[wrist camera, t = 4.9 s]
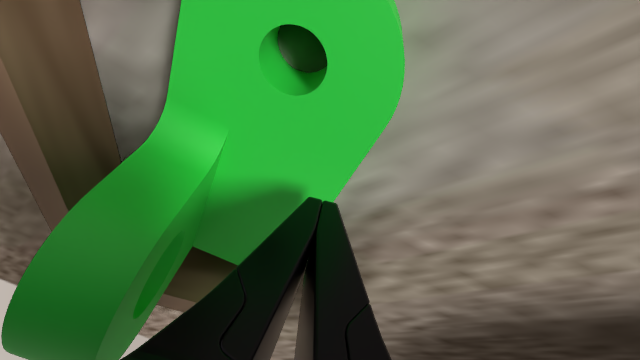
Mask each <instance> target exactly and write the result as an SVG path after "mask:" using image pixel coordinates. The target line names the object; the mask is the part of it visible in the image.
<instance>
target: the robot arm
mask: <svg viewBox="0 0 640 360" xmlns="http://www.w3.org/2000/svg"><path fill="white" fill-rule="evenodd" d="M308 256H309V257H308ZM307 260H308V261H307ZM306 264H307V265H306ZM305 267H306V269H305ZM304 271H305V275H304V282H303V290H302V298H301V307H300V315H299V323H298V332H297V340H296V349H295V357H294V360H391V357H390V355H389V353H388V350H387V348H386V346H385V343H384V341H383V339H382V336H381V333H380V331H379V328H378V325H377V322H376V320H375V317H374V314H373V311H372V308H371V305H370V304H369V299H368V296H367V293H366V290H365V287H364V284H363V281H362V278H361V275H360V272H359V269H358V266H357V263H356V260H355V257H354V253H353V250H352V247H351V244H350V241H349V238H348V235H347V232H346V229H345V226H344V223H343V220H342V217H341V214H340V211H339V208H338V205H337V204H336V203H333V202H329V201H323V202H322V200H321V199H318V198H314V197H308V198H307V199H306V200H305V201H304V202H303V203H302V204H301V205H300V206H299V207H298V208H297V209H296V210H294V211H293V212H292V213H291V214H290V215H289V216H288V217H287V218H286V219H285V220H284V221H283V222H282V223H281V224H280V225H279V226H278V227H277V228H276V229H275V230H274V231H273V232H272V233H271V234H270V235H269V236H268V237H267V238H266V239H265V240H264V241H263V242H262V243H261V244H260V245H259V246H258V247H257V248H256V249H254V250H253V251H252V252H251V253H250V254H249V255H248V256H247V257H246V258H245V259H244V260H243V261H242V262H241V263H240V264H239V265H238V266H237V267H236V269H234V270H233V271H232V272H231V273H230V274H229V275H228V276H227V277H226V278H225V279H224V280H222V281H221V282H220V283H219V284H218V285H217V286H216V287H215V288H214V289H213V290H211V291H210V292H209V293H208V294H207V295H206V296H204V297H203V298H202V299H201V300H199V301H198V302H197V303H196V304H195V305H193V306H192V307H191V308H190V309H188V310H187V311H186V312H184V313H183V314H182V315H180V316H179V317H178V318H177V319H175V320H174V321H173V322H171V323H170V324H169V325H168V326H166V327H165V328H164V329H162V330H161V331H160V332H158V333H157V334H156V335H155V336H153V337H152V338H151V339H149V340H148V341H147V342H145V343H144V344H143V345H141V346H140V347H139V348H138V349H136V350H135V351H133V352H132V353H130V354H129V355H127V356H126V357H124V358H122V359H120V360H270V358H271V356H272V353H273V351H274V348H275V346H276V343H277V341H278V338H279V336H280V333H281V330H282V328H283V325H284V323H285V320H286V318H287V315H288V313H289V310H290V308H291V305H292V302H293V300H294V297H295V295H296V292H297V290H298V287H299V285H300V282H301V280H302V277H303V274H304Z"/></svg>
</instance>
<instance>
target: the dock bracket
mask: <svg viewBox="0 0 640 360" xmlns="http://www.w3.org/2000/svg"><path fill="white" fill-rule="evenodd" d="M0 132H1V134H2V136H3V138H4V140H5V142H6V144H7V146H8V148H9V150H10V152H11V154H12V156H13V158H14V160H15V162H16V164H17V165H18V167H19V169H20V171H21V173H22V175H23V177H24V179H25V181H26V183H27V185H28V187H29V189H30V191H31V193H32V195H33V196H34V198H35V200H36V202H37V204H38V206H39V208H40V210H41V212H42V214H43V216H44V218H45V220H46V222H47V224H48V226H49V227H50V229H51V231H53V230H54V229H55V227H56V226H57V225H58V224H59V223H60V221H61V220H62V219H63V218H64V217H65V216H66V214H67V213H68V212H69V211H70V210H71V209H72V208H73V207H74V206H75V205H76V204H77V203H78V202H79V201H80V200H81V199H82V198H83V197H84V196H85V195H86V194H87V193H88V192H89V191H90V190H91V189H93V188H94V187H95V186H96V185H97V184H98V183H99V182H101V181H102V180H103V179H104V178H105V177H106V176H107V175H108V174H110V173H111V172H112V171H113V170H114V169H115V168H116V167H118V166H119V165H120V164H121V160H120V156H119V152H118V149H117V145H116V141H115V137H114V133H113V129H112V125H111V121H110V117H109V113H108V110H107V106H106V102H105V98H104V94H103V90H102V86H101V82H100V78H99V75H98V71H97V67H96V63H95V59H94V55H93V51H92V47H91V43H90V40H89V36H88V32H87V28H86V24H85V20H84V16H83V12H82V8H81V4H80V1H79V0H0ZM237 266H238V265H236V264H234V263H231V262H229V261H226V260H224V259H222V258H219V257H217V256H215V255H212V254H210V253H207V252H205V251H203V250H200V249H198V248H196V247H193V246H192V248H191V249H190V251H189V253H188V254H187V256H186V258H185V259H184V261H183V262H182V264H181V266H180V267H179V269H178V270H177V272H176V274H175V275H174V277H173V278H172V280H171V282H170V283H169V285H168V286H167V288H166V290H165V291H164V293H163V295H162V296H161V298H160V299H159V301H158V303H157V304H156V305H159V306H163V307H166V308H170V309H174V310H177V311H181V312H186V311H187V310H188V309H190V308H191V307H192V306H193V305H195V304H196V303H197V302H198V301H199V300H201V299H202V298H203V297H204V296H206V295H207V294H208V293H209V292H210V291H211V290H213V289H214V288H215V287H216V286H217V285H218V284H219V283H220V282H221V281H222V280H224V279H225V278H226V277H227V276H228V275H229V274H230V273H231V272H232V271H233V270H234V269H236V267H237Z"/></svg>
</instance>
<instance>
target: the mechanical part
mask: <svg viewBox="0 0 640 360" xmlns="http://www.w3.org/2000/svg"><path fill="white" fill-rule="evenodd" d="M285 24H293V25H298V26H301V27H304V28H306V29H308V30H309V31H311V32H312V33H313V34H314V35H315V36H316V37H317V38H318V39H319V40H320V42H321V43H322V45H323V47H324V49H325V52H326V56H327V66H326V67H325V68H323V69H322V70H320V71H317V72H311V73H307V72H302V71H299V70H296V69H295V68H293V67H292V66H290V65H289V64H288V63H287V62H286V61H285V59H284V58H283V56H282V54H281V52H280V50H279V46H278V31H279V28H280V26H281V25H285ZM404 67H405V59H404V48H403V37H402V27H401V22H400V17H399V14H398V10H397V7H396V4H395V2H394V0H181V7H180V13H179V20H178V27H177V34H176V40H175V47H174V54H173V60H172V67H171V74H170V81H169V87H168V94H167V100H166V104H165V107H164V110H163V113H162V115H161V118H160V120H159V122H158V124H157V126H156V127H155V129H154V131H153V132H152V134H151V135H150V136H149V138H148V139H147V140H146V141H145V142H144V143H143V144H142V145H141V146H140V147H139V148H138V149H137V150H136V151H135V152H134V153H132V154H131V155H130V156H129V157H128V158H127V159H126V160H124V161H123V162H122V163H121V164H120V165H119V166H118V167H116V168H115V169H114V170H113V171H112V172H111V173H110V174H108V175H107V176H106V177H105V178H104V179H103V180H102V181H101V182H99V183H98V184H97V185H96V186H95V187H94V188H93V189H91V190H90V191H89V192H88V193H87V194H86V195H85V196H84V197H83V198H82V199H81V200H80V201H79V202H78V203H77V204H76V205H75V206H74V207H73V208H72V209H71V210H70V211H69V212H68V213H67V214H66V216H65V217H64V218H63V219H62V220H61V221H60V223H59V224H58V225H57V226H56V227H55V229H54V230H53V231H52V232H51V234H50V235H49V236H48V238H47V239H46V240H45V242H44V243H43V245H42V246H41V247H40V249H39V250H38V252H37V253H36V255H35V256H34V258H33V260H32V261H31V263H30V264H29V266H28V268H27V269H26V271H25V273H24V275H23V276H22V278H21V280H20V282H19V284H18V286H17V288H16V290H15V292H14V294H13V296H12V299H11V301H10V304H9V306H8V309H7V312H6V315H5V318H4V323H3V327H2V345H3V348H4V349H5V350H6V351H7V352H9V353H11V354H14V355H17V356H19V357H22V358H26V359H28V360H119V359H120V358H121V356H122V355H123V354H124V352H125V351H126V350H127V348H128V347H129V345H130V344H131V343H132V341H133V340H134V338H135V337H136V335H137V334H138V332H139V331H140V329H141V328H142V326H143V325H144V323H145V322H146V320H147V319H148V317H149V315H150V314H151V312H152V311H153V309H154V307H155V306H156V304H157V303H158V301H159V299H160V298H161V296H162V295H163V293H164V291H165V290H166V288H167V286H168V285H169V283H170V282H171V280H172V278H173V277H174V275H175V274H176V272H177V270H178V269H179V267H180V266H181V264H182V262H183V261H184V259H185V258H186V256H187V254H188V253H189V251H190V249H191V248H192V246H193V247H196V248H198V249H200V250H203V251H205V252H207V253H210V254H212V255H215V256H217V257H219V258H222V259H224V260H226V261H229V262H231V263H234V264H236V265H239V264H240V263H241V262H242V261H243V260H244V259H245V258H246V257H247V256H248V255H249V254H250V253H251V252H252V251H253V250H254V249H256V248H257V247H258V246H259V245H260V244H261V243H262V242H263V241H264V240H265V239H266V238H267V237H268V236H269V235H270V234H271V233H272V232H273V231H274V230H275V229H276V228H277V227H278V226H279V225H280V224H281V223H282V222H283V221H284V220H285V219H286V218H287V217H288V216H289V215H290V214H291V213H292V212H293V211H294V210H296V209H297V208H298V207H299V206H300V205H301V204H302V203H303V202H304V201H305V200H306V199H307V198H308V197H314V198H318V199H321V200H322V202H323V201H329V202H334V200H335V199H336V197H337V196H338V194H339V193H340V192H341V190H342V189H343V187H344V186H345V184H346V183H347V182H348V180H349V179H350V177H351V176H352V174H353V173H354V172H355V170H356V169H357V167H358V166H359V164H360V163H361V162H362V160H363V159H364V157H365V156H366V154H367V153H368V152H369V150H370V149H371V147H372V146H373V144H374V143H375V142H376V140H377V139H378V137H379V136H380V134H381V133H382V132H383V130H384V129H385V127H386V126H387V124H388V123H389V121H390V119H391V118H392V116H393V114H394V111H395V109H396V107H397V104H398V101H399V99H400V95H401V91H402V87H403V80H404Z"/></svg>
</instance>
